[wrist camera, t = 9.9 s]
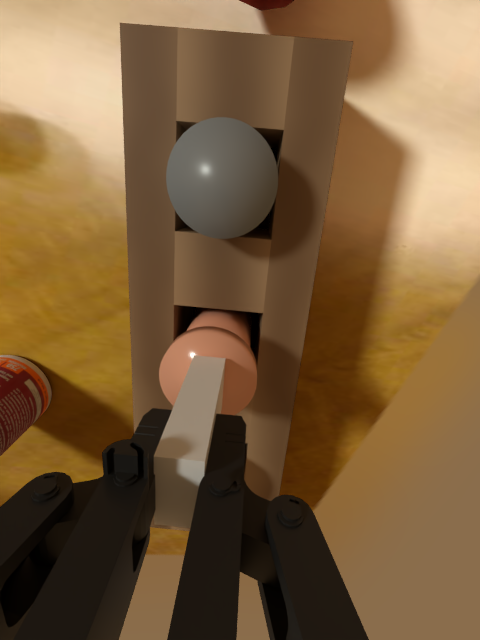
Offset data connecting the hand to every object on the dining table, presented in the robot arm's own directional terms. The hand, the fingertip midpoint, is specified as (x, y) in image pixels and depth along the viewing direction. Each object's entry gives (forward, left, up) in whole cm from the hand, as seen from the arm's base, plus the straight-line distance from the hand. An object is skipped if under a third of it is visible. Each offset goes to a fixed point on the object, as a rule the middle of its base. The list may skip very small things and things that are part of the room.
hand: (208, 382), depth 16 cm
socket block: (0, 0, -10) cm, 10 cm away
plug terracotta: (0, 0, -8) cm, 8 cm away
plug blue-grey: (0, +9, -9) cm, 13 cm away
